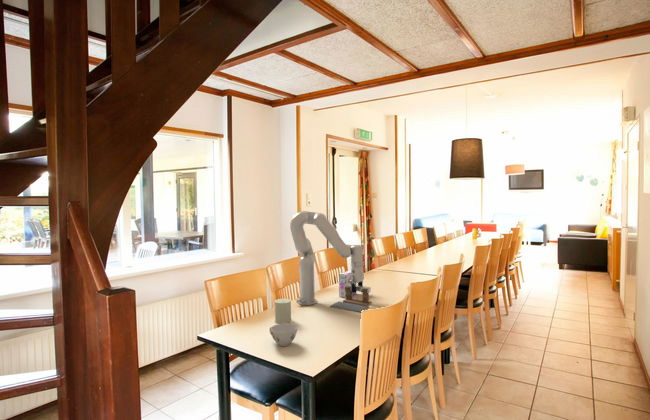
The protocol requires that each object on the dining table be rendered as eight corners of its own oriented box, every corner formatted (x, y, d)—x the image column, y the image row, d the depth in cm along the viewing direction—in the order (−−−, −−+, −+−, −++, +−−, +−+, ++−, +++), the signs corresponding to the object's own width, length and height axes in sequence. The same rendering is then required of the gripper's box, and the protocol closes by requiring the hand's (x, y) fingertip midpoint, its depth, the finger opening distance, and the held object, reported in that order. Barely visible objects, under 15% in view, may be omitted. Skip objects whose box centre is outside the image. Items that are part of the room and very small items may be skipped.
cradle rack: (366, 306, 227) (366, 290, 226) (342, 302, 236) (342, 287, 236) (371, 303, 234) (371, 287, 233) (348, 299, 243) (348, 284, 242)
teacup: (302, 341, 174) (302, 325, 174) (286, 351, 163) (286, 334, 163) (278, 335, 182) (277, 320, 181) (261, 344, 171) (261, 328, 171)
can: (276, 324, 197) (275, 303, 197) (273, 319, 206) (273, 298, 206) (292, 322, 200) (292, 301, 199) (289, 317, 209) (289, 297, 208)
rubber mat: (360, 312, 215) (360, 311, 215) (329, 306, 227) (329, 305, 227) (368, 307, 224) (368, 306, 224) (338, 302, 236) (338, 301, 236)
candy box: (346, 298, 245) (345, 274, 244) (338, 297, 249) (338, 273, 248) (356, 293, 256) (356, 270, 255) (349, 292, 260) (349, 269, 259)
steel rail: (368, 293, 228) (368, 288, 228) (344, 289, 238) (343, 284, 238) (370, 291, 231) (370, 287, 231) (346, 288, 241) (346, 283, 240)
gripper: (355, 267, 224) (356, 294, 225) (368, 262, 239) (368, 288, 240) (345, 265, 228) (345, 293, 229) (357, 261, 243) (358, 286, 244)
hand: (357, 290), depth 235 cm, fingers open, 8 cm apart
